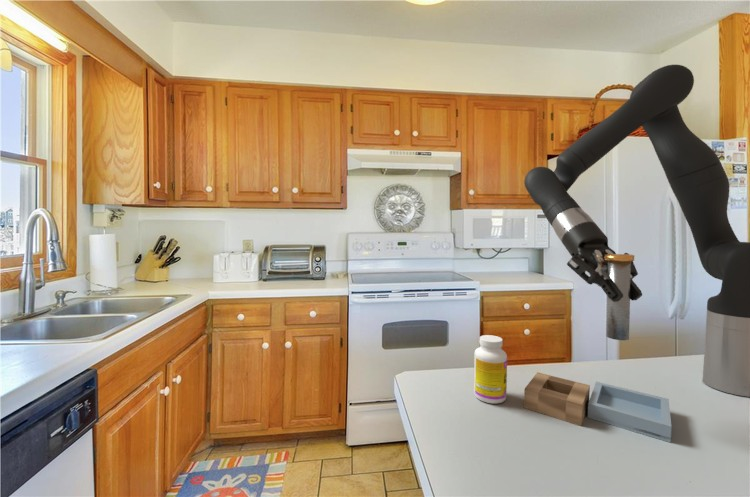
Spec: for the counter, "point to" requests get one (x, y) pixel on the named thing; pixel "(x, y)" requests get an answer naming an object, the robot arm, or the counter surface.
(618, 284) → the pin
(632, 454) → the counter surface
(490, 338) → the supplement bottle
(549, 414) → the socket block
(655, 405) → the tray
